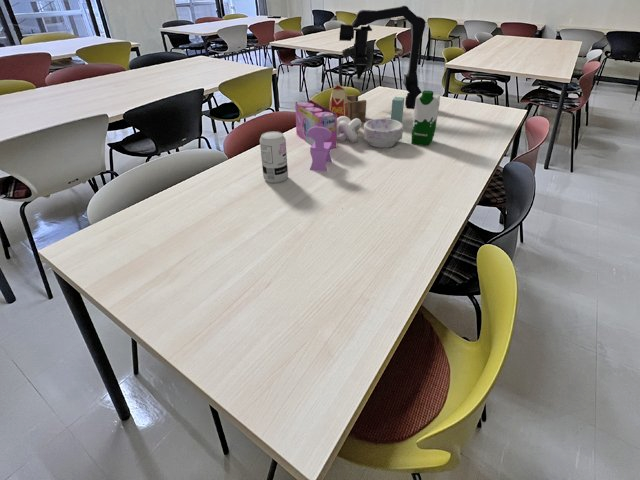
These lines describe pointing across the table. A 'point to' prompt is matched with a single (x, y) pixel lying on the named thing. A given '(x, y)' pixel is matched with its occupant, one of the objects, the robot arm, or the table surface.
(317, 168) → the toy chair
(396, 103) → the teal rectangular block
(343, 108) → the milk carton
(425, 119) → the soya milk
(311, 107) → the gum box
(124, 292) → the table surface
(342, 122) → the white knot sculpture
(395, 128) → the marble bowl
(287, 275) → the table surface
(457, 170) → the table surface
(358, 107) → the cabinet carcass
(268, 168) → the supplement can
